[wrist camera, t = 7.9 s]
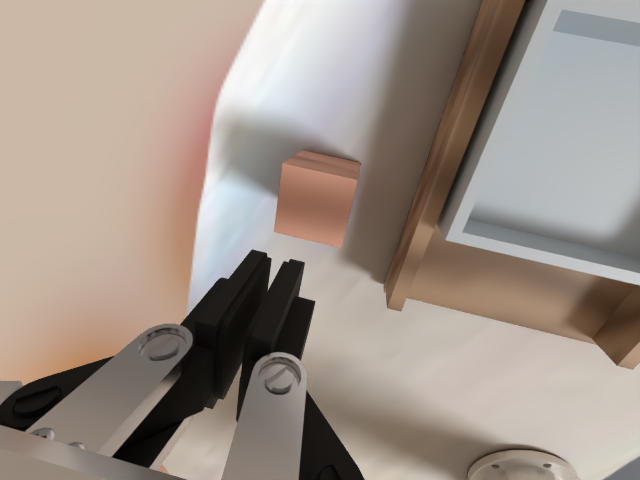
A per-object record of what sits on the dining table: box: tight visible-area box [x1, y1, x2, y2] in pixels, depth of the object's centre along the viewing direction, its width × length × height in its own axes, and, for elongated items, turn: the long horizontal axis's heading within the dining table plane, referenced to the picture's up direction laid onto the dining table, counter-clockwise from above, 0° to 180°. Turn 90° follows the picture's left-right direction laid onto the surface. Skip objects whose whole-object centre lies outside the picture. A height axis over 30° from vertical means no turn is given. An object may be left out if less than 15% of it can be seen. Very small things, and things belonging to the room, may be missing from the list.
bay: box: [384, 0, 640, 370], centre depth 20 cm, size 23×20×5 cm
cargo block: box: [274, 150, 361, 248], centre depth 22 cm, size 5×5×6 cm
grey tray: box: [436, 0, 640, 285], centre depth 18 cm, size 14×17×4 cm
